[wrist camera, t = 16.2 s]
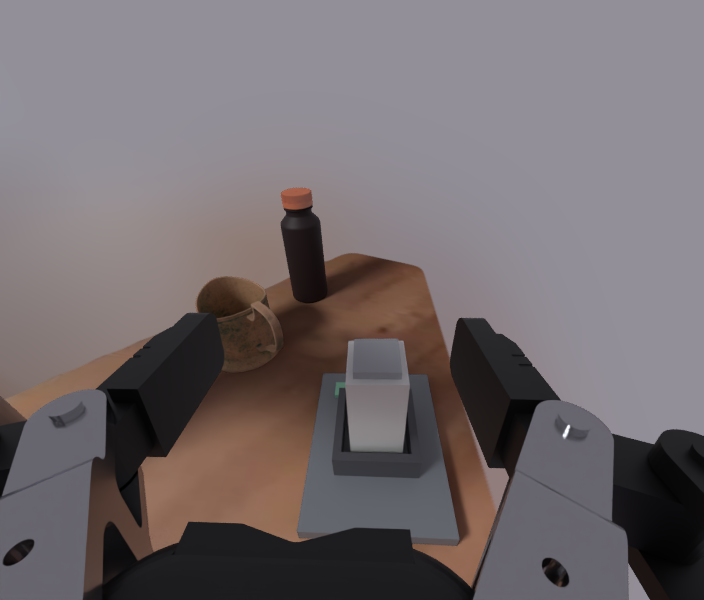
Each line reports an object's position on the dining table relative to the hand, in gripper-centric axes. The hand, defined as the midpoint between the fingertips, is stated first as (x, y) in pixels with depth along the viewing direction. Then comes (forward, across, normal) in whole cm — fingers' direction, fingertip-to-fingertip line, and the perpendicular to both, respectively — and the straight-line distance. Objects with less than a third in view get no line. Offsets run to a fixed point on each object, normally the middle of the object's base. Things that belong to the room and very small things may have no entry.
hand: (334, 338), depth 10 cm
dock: (+15, -3, +24) cm, 29 cm away
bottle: (+46, +9, +20) cm, 51 cm away
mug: (+29, +15, +23) cm, 40 cm away
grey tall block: (+14, -3, +23) cm, 27 cm away
